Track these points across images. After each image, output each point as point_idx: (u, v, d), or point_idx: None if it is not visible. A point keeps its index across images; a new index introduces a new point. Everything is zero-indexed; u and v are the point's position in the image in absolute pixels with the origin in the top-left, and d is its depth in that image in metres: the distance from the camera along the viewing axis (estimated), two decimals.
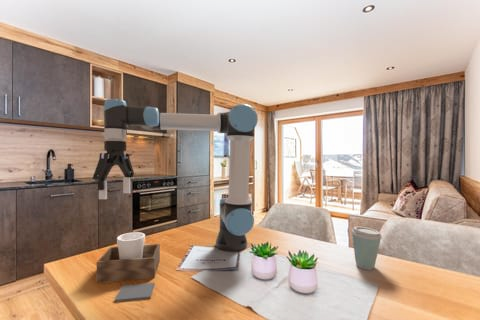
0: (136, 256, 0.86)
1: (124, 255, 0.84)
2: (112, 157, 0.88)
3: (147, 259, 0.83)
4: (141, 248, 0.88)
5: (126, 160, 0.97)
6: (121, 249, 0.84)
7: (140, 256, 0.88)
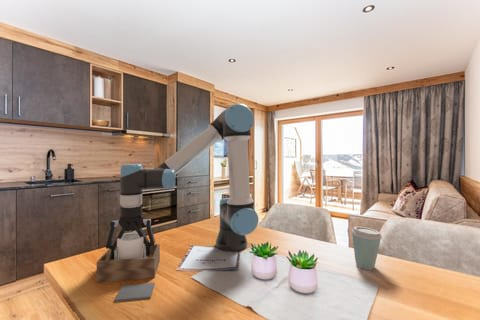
0: (136, 256, 0.86)
1: (124, 255, 0.84)
2: (121, 223, 0.87)
3: (147, 259, 0.83)
4: (141, 248, 0.88)
5: None
6: (121, 249, 0.84)
7: (140, 256, 0.88)
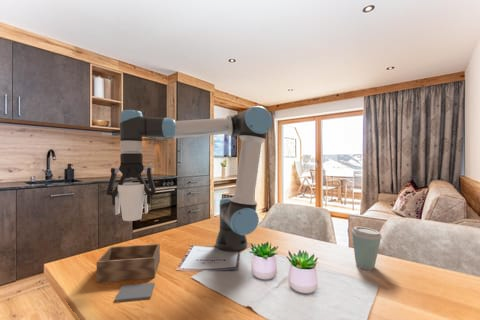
0: (137, 202, 0.86)
1: (125, 200, 0.84)
2: (121, 170, 0.86)
3: (147, 259, 0.83)
4: (142, 195, 0.87)
5: None
6: (122, 195, 0.84)
7: (141, 203, 0.87)
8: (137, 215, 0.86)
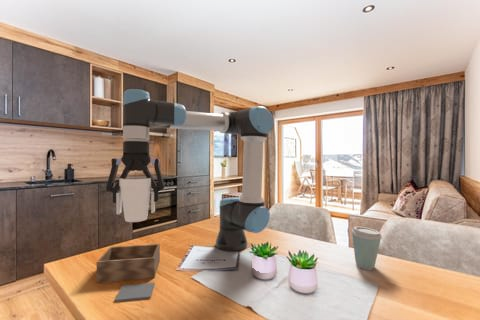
0: (142, 200, 0.72)
1: (128, 197, 0.70)
2: (124, 161, 0.72)
3: (147, 259, 0.83)
4: (148, 191, 0.73)
5: (154, 167, 0.75)
6: (124, 191, 0.70)
7: (147, 201, 0.73)
8: (142, 215, 0.72)
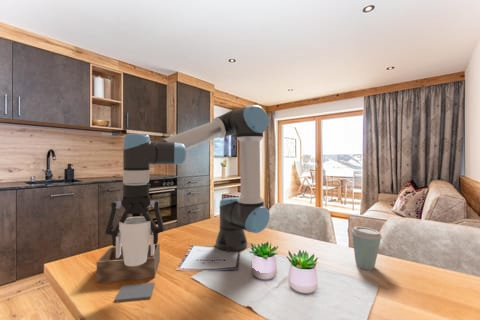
0: (142, 244, 0.72)
1: (128, 242, 0.70)
2: (124, 205, 0.73)
3: (147, 259, 0.83)
4: (148, 234, 0.74)
5: None
6: (124, 235, 0.70)
7: (146, 244, 0.74)
8: (142, 258, 0.73)
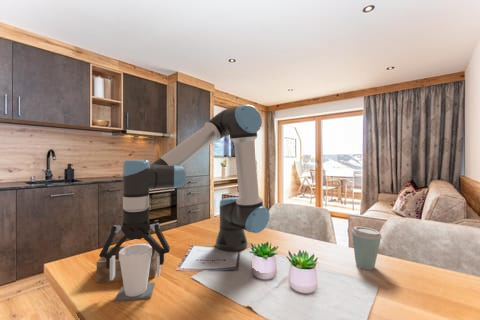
0: (142, 274, 0.72)
1: (128, 273, 0.70)
2: (124, 231, 0.73)
3: None
4: (148, 264, 0.74)
5: None
6: (124, 267, 0.70)
7: (147, 273, 0.74)
8: (142, 288, 0.73)
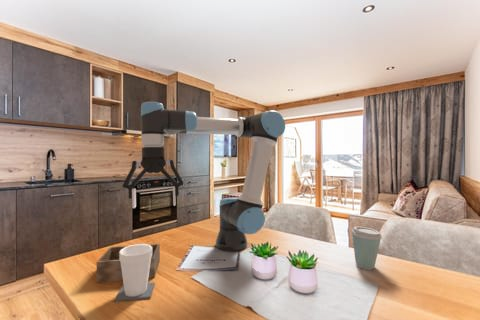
0: (142, 274, 0.72)
1: (128, 273, 0.71)
2: (143, 165, 0.83)
3: None
4: (148, 264, 0.74)
5: (171, 168, 0.85)
6: (124, 266, 0.71)
7: (147, 273, 0.74)
8: (142, 288, 0.73)
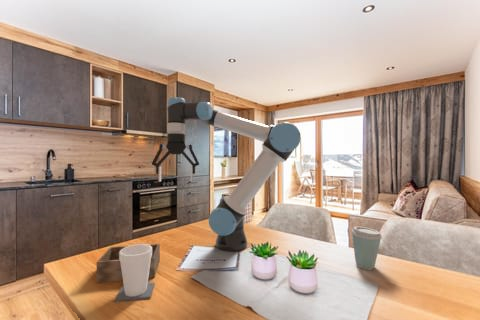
0: (142, 274, 0.72)
1: (128, 273, 0.71)
2: (168, 147, 1.04)
3: None
4: (148, 264, 0.74)
5: (190, 151, 1.06)
6: (124, 266, 0.71)
7: (147, 273, 0.74)
8: (142, 288, 0.73)
